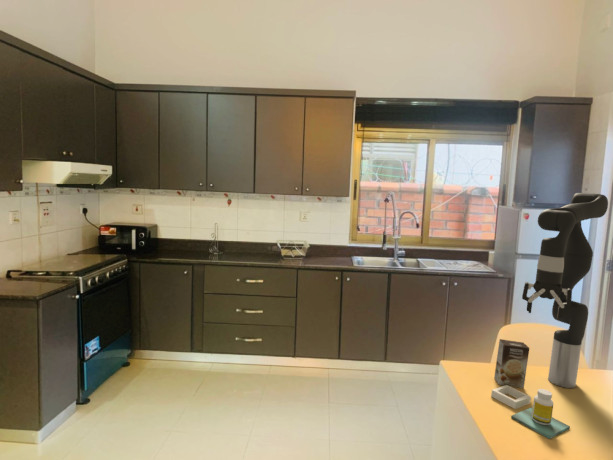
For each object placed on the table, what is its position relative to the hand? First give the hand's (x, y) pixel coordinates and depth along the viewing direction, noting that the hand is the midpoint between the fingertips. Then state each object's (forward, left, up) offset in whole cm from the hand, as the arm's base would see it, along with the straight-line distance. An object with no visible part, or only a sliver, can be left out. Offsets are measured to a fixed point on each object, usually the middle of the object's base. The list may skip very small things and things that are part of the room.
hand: (543, 315), depth 134 cm
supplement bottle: (+10, +8, -32) cm, 34 cm away
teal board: (+10, +8, -32) cm, 35 cm away
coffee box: (-7, -13, -32) cm, 36 cm away
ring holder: (+5, -5, -32) cm, 33 cm away
